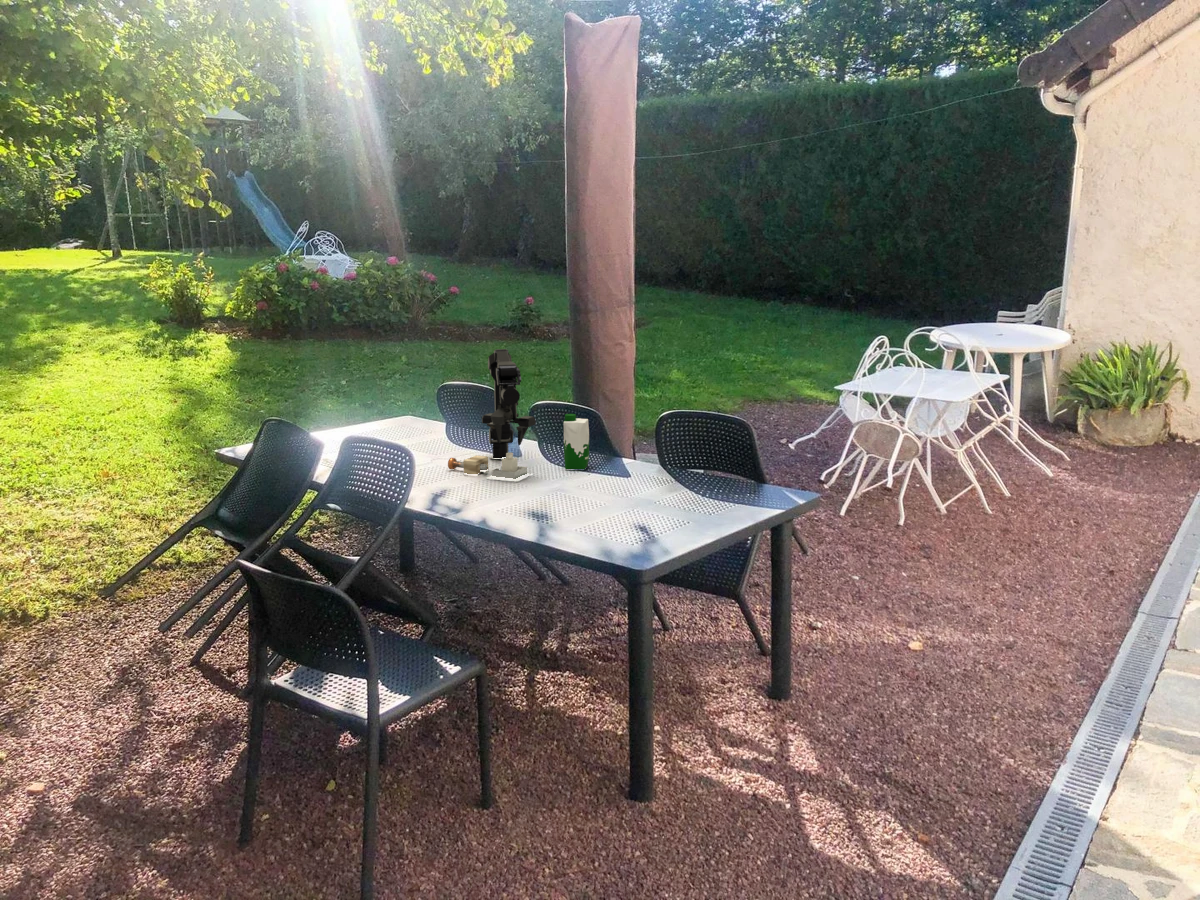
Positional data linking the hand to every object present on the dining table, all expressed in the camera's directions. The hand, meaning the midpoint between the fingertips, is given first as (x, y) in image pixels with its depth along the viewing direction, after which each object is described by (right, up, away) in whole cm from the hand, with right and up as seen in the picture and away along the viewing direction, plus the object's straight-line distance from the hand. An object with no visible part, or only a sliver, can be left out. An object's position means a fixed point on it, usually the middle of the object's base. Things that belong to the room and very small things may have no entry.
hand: (509, 444), depth 334 cm
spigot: (0, -11, +3) cm, 11 cm away
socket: (0, -12, +3) cm, 12 cm away
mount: (-13, -10, +8) cm, 18 cm away
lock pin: (-16, -10, +10) cm, 21 cm away
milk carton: (+23, -9, +15) cm, 29 cm away
